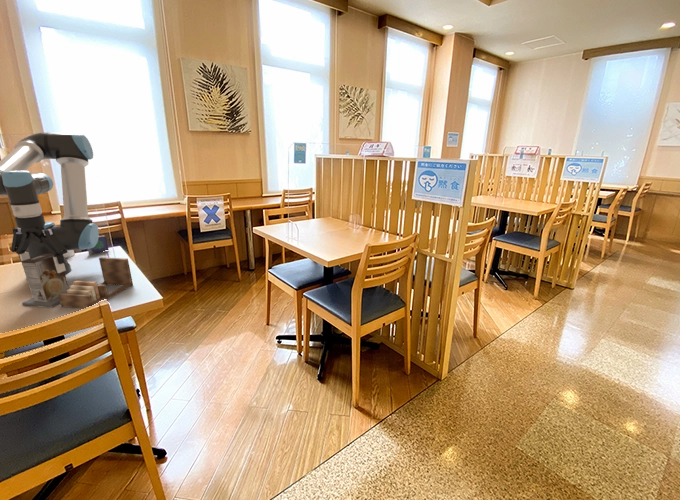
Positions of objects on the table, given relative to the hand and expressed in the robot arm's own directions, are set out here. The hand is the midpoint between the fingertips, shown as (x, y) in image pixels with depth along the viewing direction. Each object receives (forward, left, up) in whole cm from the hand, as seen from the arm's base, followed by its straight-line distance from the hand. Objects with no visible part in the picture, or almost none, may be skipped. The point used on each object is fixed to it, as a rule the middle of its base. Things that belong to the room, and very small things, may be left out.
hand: (45, 270), depth 122 cm
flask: (-27, +53, -12) cm, 60 cm away
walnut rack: (+15, +5, -12) cm, 20 cm away
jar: (-40, +45, -12) cm, 61 cm away
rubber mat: (0, 0, -12) cm, 12 cm away
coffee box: (0, 0, -11) cm, 11 cm away
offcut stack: (+15, -1, -12) cm, 19 cm away
